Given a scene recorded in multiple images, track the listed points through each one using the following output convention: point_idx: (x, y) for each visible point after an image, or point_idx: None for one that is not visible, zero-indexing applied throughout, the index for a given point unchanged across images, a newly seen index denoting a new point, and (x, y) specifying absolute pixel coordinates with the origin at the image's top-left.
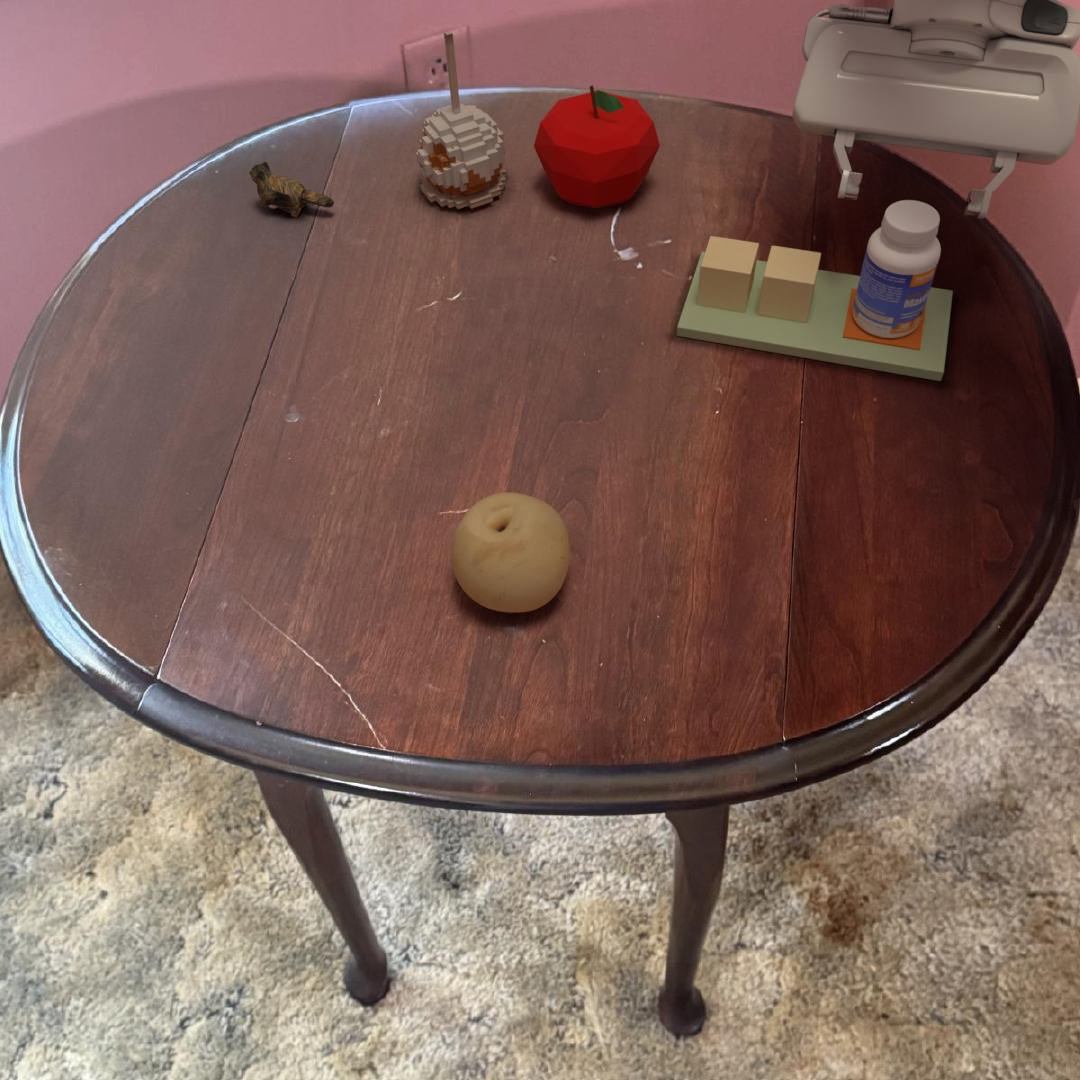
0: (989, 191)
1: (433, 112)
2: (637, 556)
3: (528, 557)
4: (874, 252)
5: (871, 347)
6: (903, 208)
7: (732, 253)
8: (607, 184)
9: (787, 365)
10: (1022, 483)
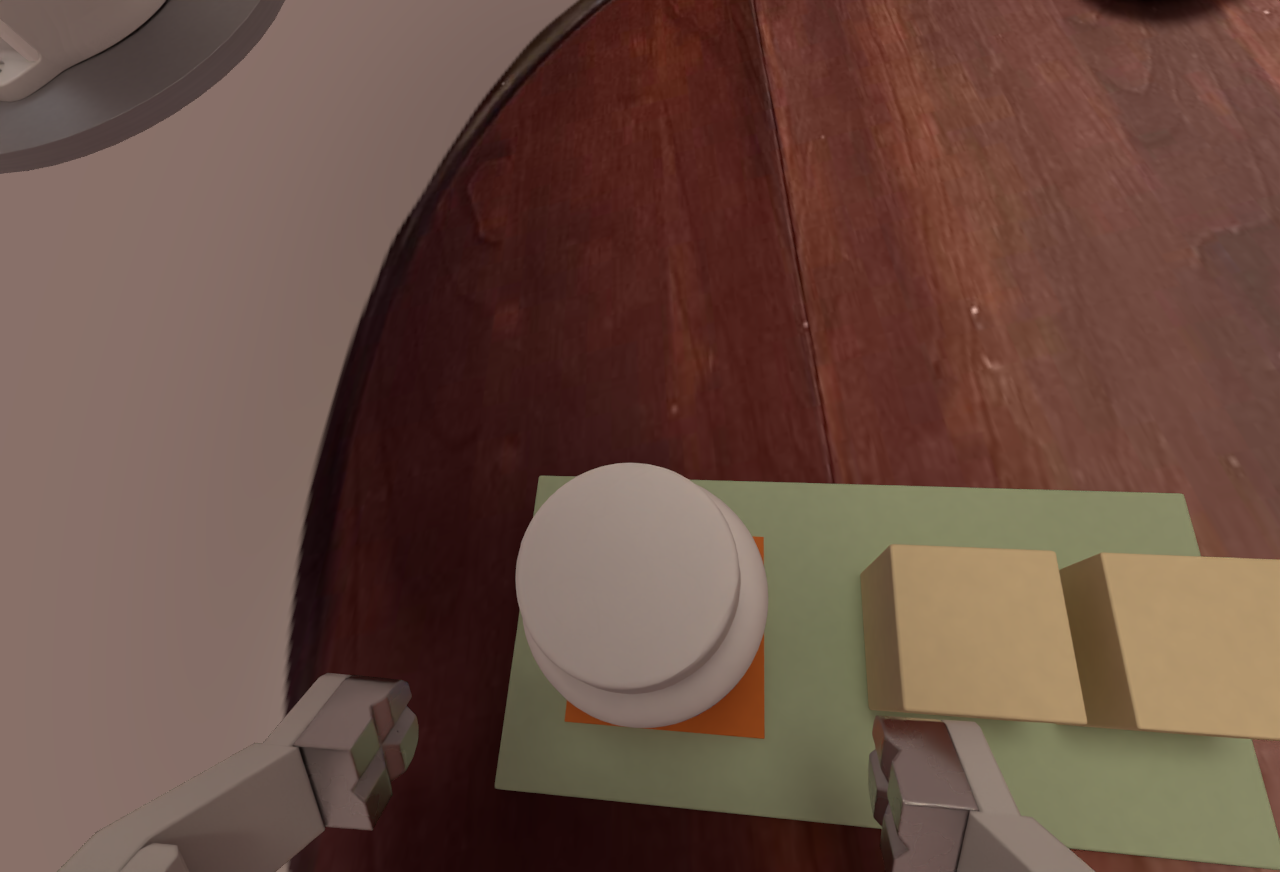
0: (275, 738)
1: None
2: (991, 43)
3: None
4: (741, 525)
5: None
6: (663, 607)
7: (1207, 649)
8: None
9: (868, 464)
10: (434, 288)
